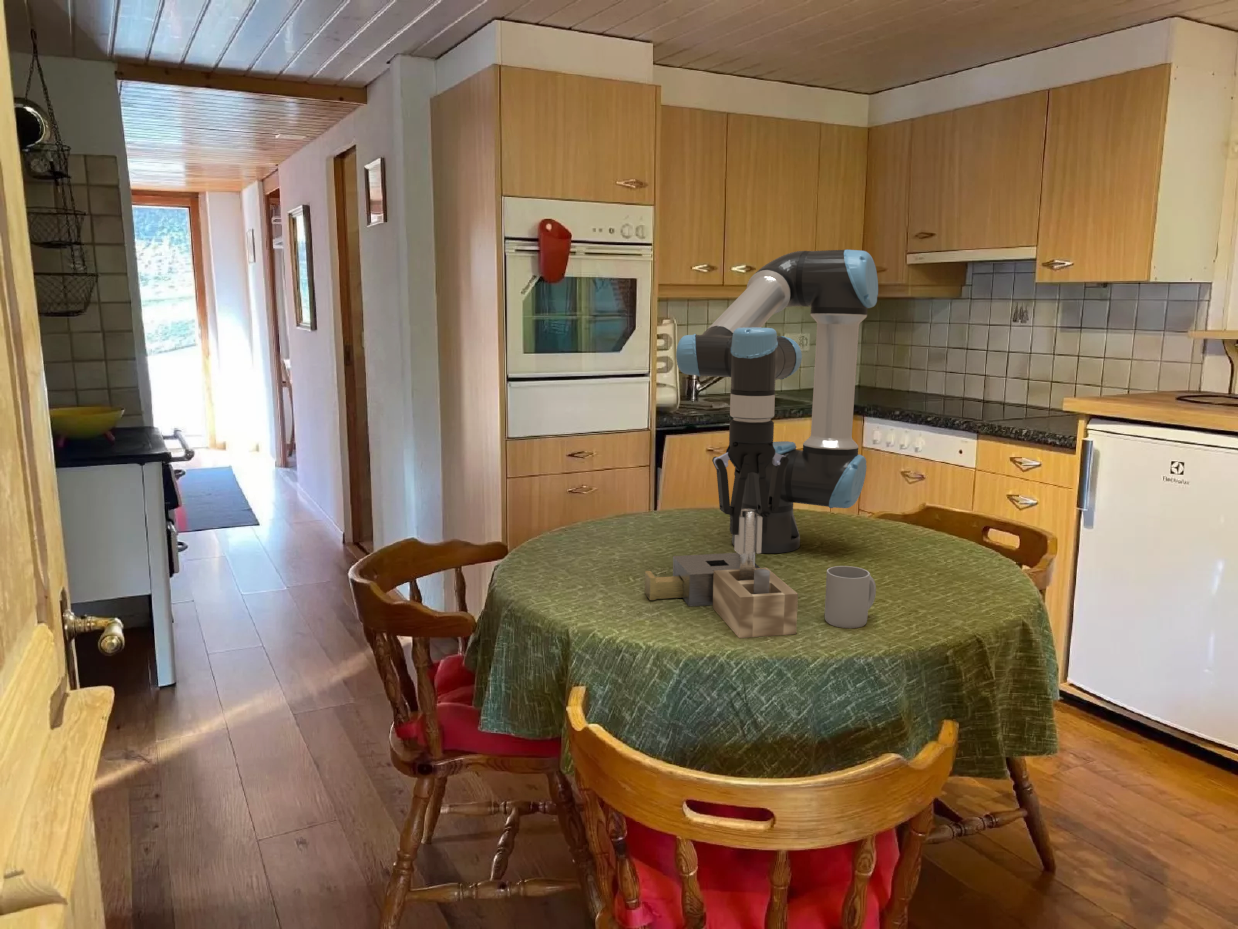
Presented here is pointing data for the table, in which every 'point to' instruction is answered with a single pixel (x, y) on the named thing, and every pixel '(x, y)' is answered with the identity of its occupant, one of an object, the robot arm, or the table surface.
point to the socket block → (702, 574)
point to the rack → (755, 603)
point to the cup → (848, 596)
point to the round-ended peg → (748, 545)
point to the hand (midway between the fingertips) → (747, 551)
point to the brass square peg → (663, 586)
